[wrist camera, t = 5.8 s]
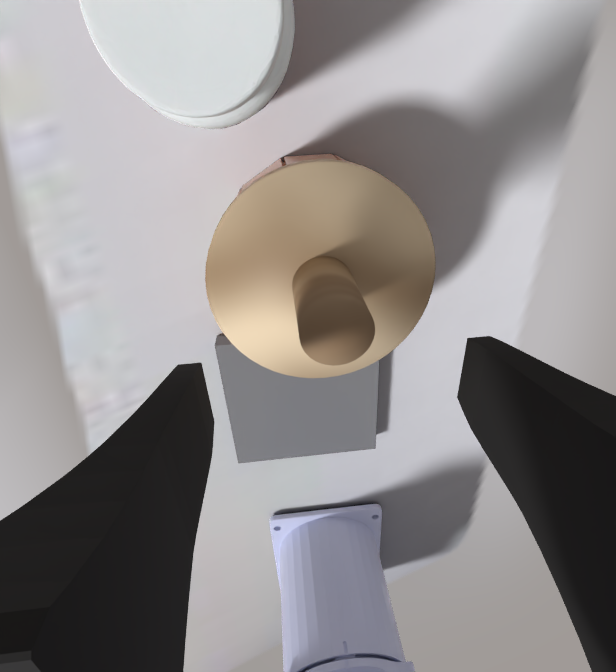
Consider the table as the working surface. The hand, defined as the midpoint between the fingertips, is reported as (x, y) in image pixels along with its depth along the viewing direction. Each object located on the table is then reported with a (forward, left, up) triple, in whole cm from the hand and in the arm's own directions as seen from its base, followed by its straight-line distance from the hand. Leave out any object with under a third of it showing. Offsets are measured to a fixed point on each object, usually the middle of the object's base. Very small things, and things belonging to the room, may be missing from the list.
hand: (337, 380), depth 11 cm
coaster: (-8, +1, -10) cm, 13 cm away
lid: (0, 0, -7) cm, 7 cm away
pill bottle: (+8, +3, -10) cm, 13 cm away
